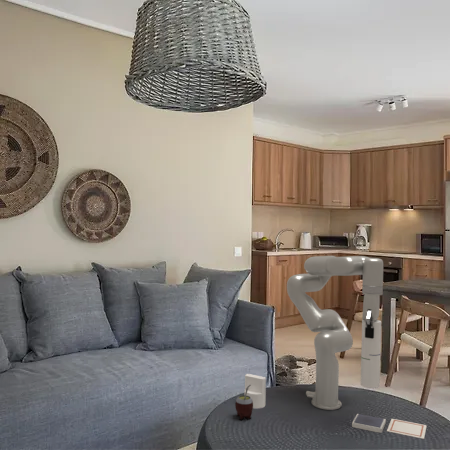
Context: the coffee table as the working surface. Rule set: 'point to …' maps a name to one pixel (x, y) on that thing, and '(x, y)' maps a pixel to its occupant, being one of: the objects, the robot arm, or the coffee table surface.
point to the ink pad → (369, 423)
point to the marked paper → (407, 428)
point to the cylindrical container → (371, 357)
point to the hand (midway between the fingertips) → (371, 335)
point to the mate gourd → (244, 406)
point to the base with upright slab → (256, 390)
